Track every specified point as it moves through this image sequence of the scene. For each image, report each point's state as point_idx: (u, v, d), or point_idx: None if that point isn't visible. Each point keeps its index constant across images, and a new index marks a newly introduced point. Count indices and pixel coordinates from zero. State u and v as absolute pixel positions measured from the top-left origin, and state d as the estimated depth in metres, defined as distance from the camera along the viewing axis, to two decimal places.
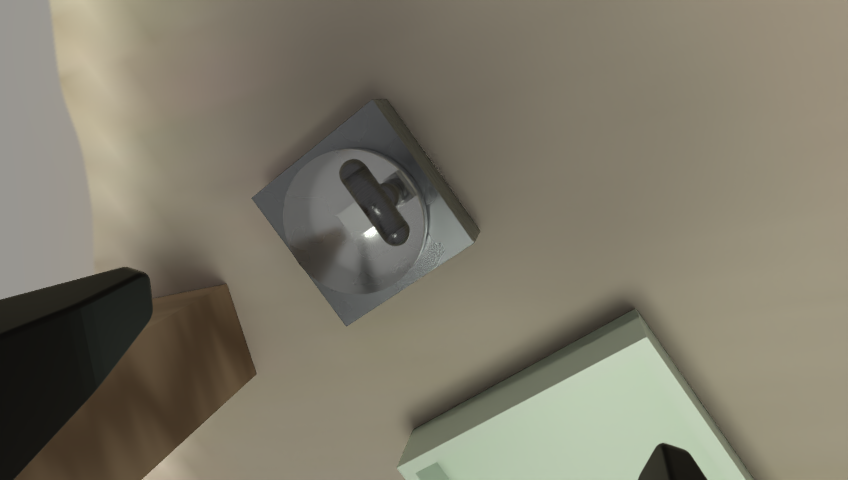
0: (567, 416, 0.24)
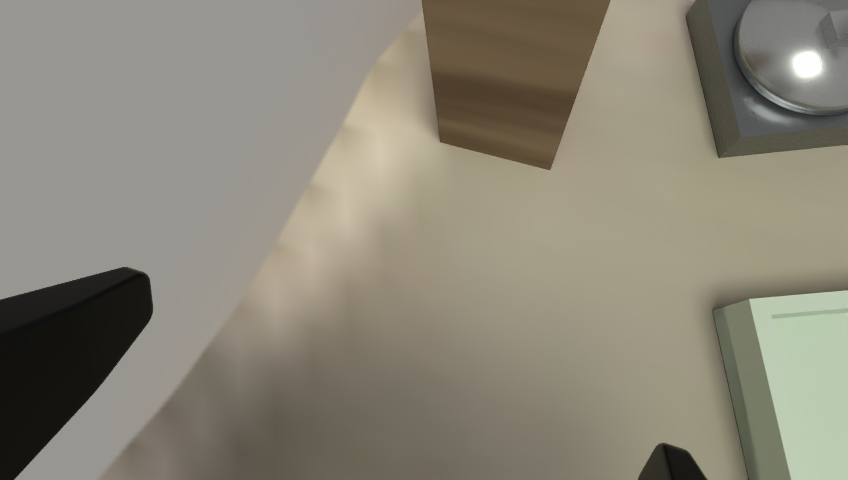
0: None
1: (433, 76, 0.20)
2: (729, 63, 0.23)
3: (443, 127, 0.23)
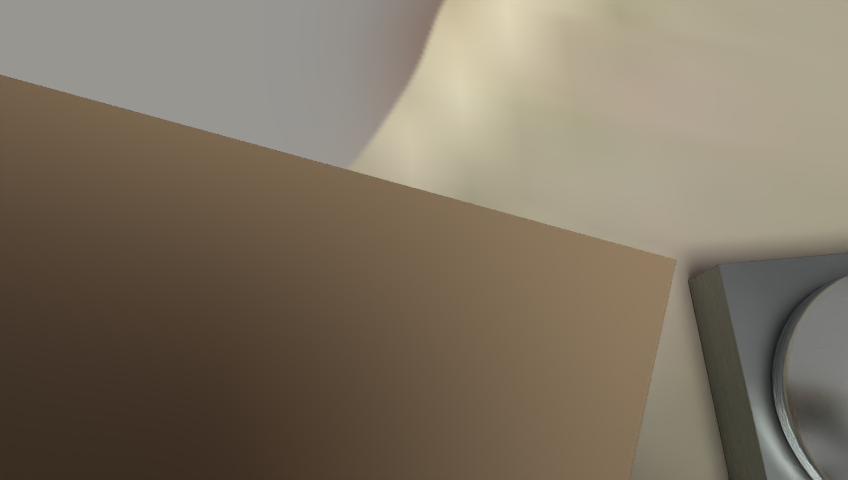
0: None
1: None
2: (764, 419, 0.13)
3: None
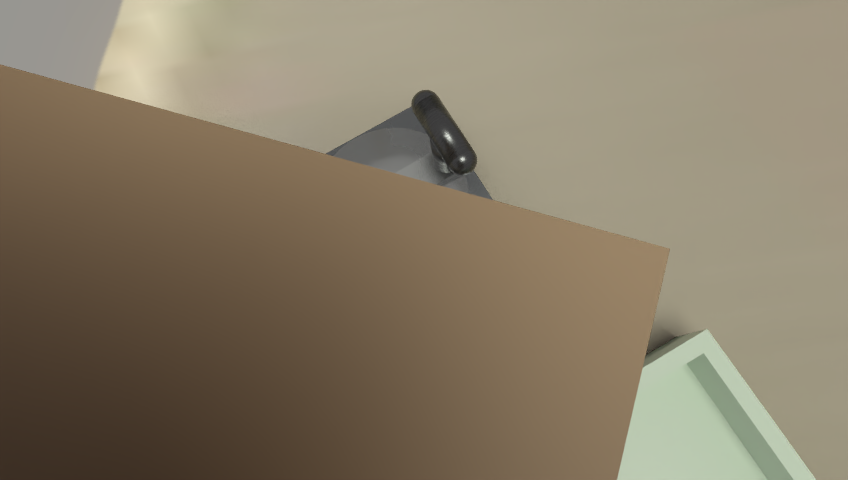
0: None
1: None
2: None
3: None
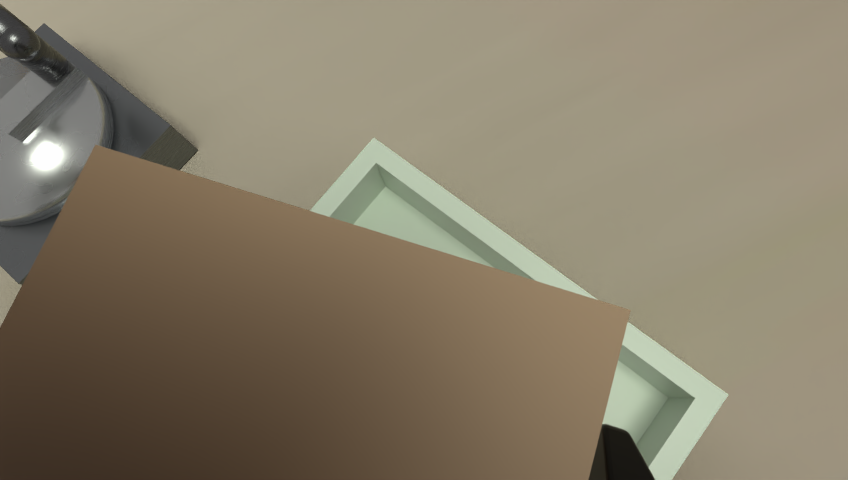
0: None
1: None
2: None
3: None
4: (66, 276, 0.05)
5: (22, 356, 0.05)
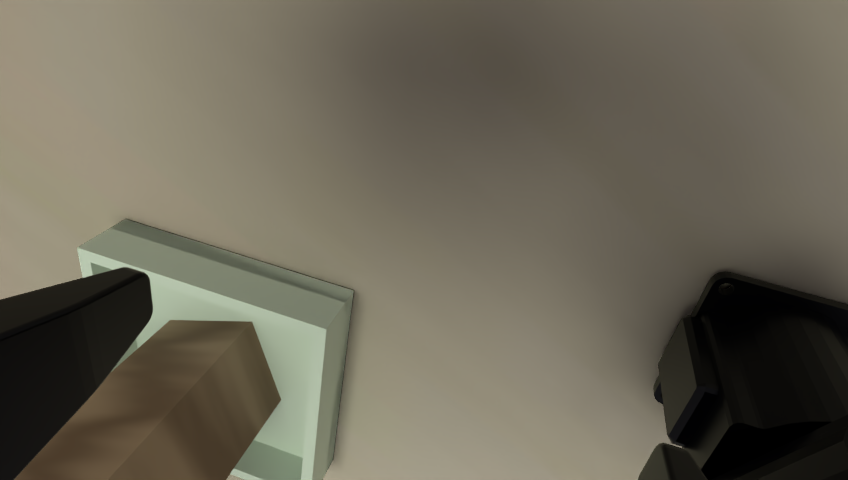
0: None
1: None
2: None
3: (264, 418, 0.28)
4: None
5: None
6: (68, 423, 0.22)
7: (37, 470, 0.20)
